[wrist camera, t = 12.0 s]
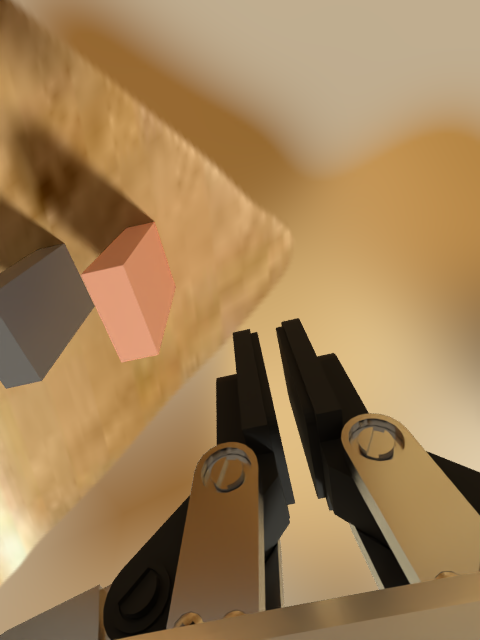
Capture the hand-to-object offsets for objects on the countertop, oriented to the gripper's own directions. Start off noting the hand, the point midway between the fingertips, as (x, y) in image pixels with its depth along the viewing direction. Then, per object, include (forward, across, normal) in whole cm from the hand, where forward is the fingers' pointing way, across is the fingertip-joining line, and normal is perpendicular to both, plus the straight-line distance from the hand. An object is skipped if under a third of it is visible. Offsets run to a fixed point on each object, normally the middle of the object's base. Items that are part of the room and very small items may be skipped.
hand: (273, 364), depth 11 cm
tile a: (+15, +13, 0) cm, 20 cm away
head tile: (+15, +6, 0) cm, 16 cm away
